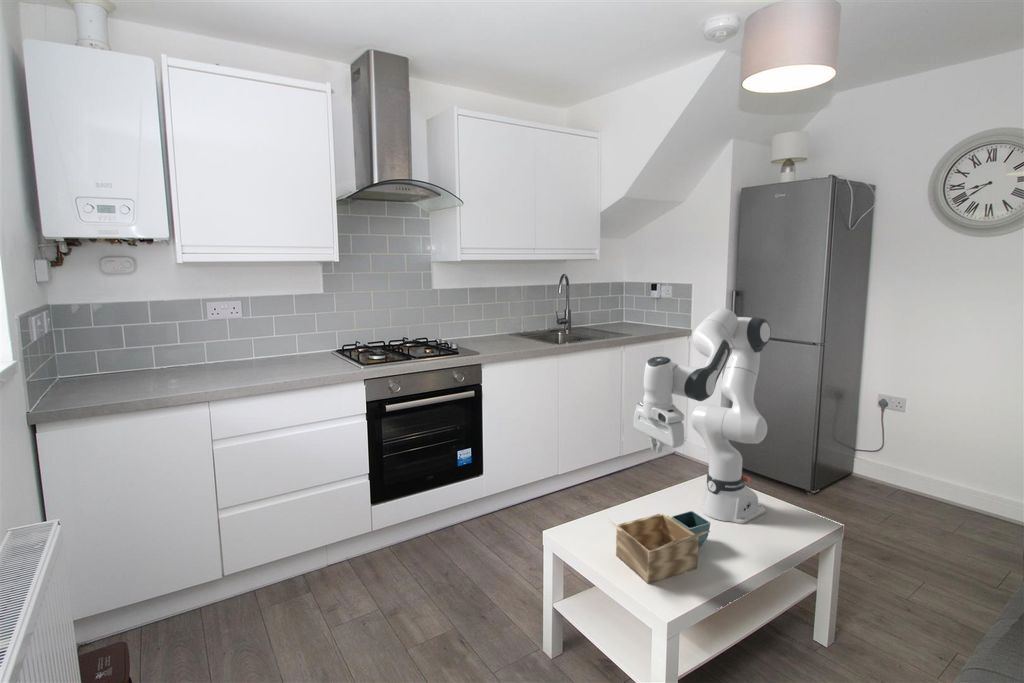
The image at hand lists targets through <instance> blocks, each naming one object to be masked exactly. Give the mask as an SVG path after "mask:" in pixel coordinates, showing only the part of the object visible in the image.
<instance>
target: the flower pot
mask: <svg viewBox="0 0 1024 683" xmlns="http://www.w3.org/2000/svg"><path fill="white" fill-rule="evenodd" d="M671 518H672V519H674V520H675V521H677V522H678V523H680V524H681V525H682V526H684V527H685V528H687V529H688V530H690V531H691V532H693V533H694V534H699V533H702V532H706V531H710V527H711V522H710V521H709V520H707V519H706V518H704V517H703V516H701V515H699V514H698V513H696V512H695V511H693V510H690V511H686V512H682V513H679V514H675V515H672V516H671ZM708 536H709V533H707V534H704V535H702V536H700V537H698V548H700V547H702V546H703V545H704V544H705V543H706V541H707V539H708Z"/></svg>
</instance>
